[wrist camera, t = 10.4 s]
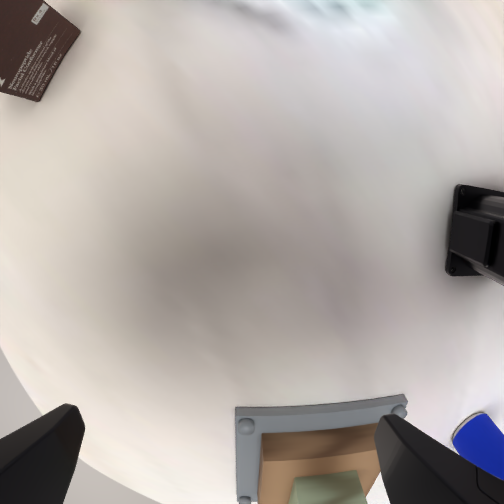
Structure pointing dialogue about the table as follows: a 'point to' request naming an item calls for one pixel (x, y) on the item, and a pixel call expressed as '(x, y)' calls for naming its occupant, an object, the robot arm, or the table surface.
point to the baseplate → (298, 430)
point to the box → (31, 46)
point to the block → (328, 489)
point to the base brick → (315, 458)
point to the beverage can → (481, 444)
